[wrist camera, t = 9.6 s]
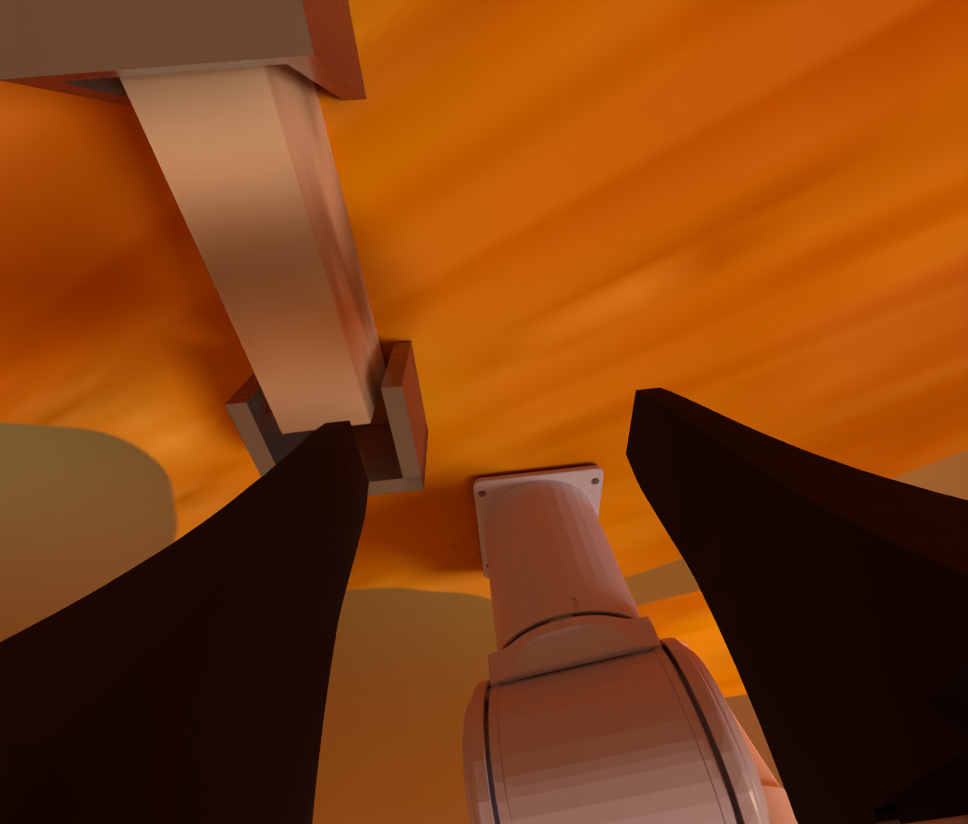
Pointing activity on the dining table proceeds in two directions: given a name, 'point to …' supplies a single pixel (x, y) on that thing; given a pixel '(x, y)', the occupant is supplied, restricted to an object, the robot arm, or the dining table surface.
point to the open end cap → (383, 448)
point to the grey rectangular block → (173, 42)
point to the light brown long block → (270, 232)
